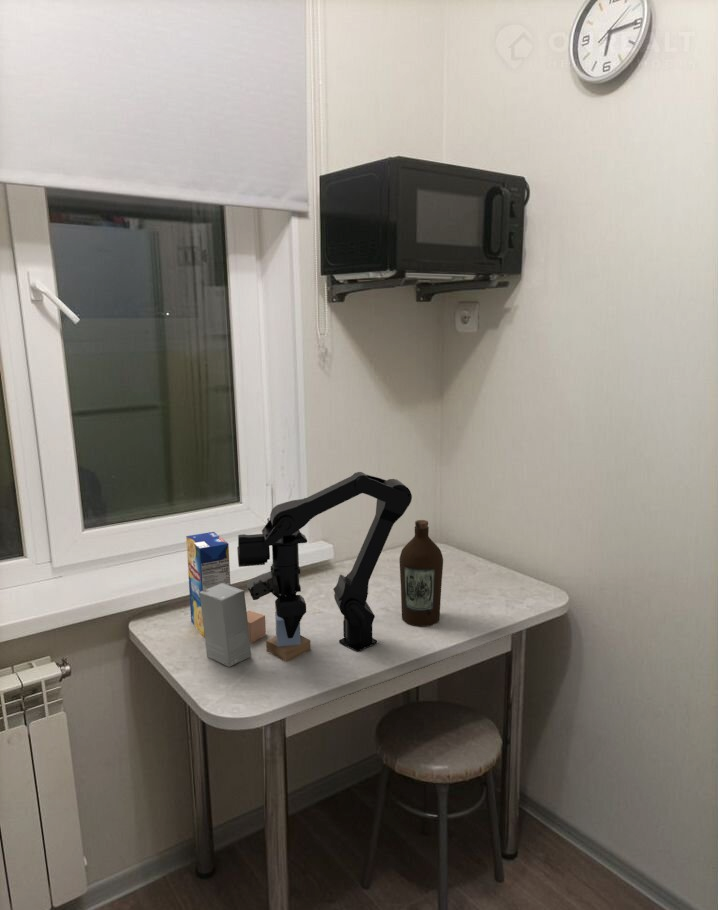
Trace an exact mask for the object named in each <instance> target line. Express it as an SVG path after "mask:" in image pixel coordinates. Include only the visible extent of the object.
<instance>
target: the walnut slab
mask: <svg viewBox="0 0 718 910" xmlns="http://www.w3.org/2000/svg"><path fill="white" fill-rule="evenodd" d="M300 641H301V644H299V645H289V646H279V647H278V644H277V638H276V635H275V636H273V637H271V638H268V639H266V640H265V643H266V644H265V647H266V648H265V649H266V652H267V653H269V654H271V655H273V656H274V657H277V658H279V659H281V660H282V661H285V662H289V661H291V660H293V659H295V658H298V657H300V656H302V655H303V654H304V655H305V654H307V653H308V652H310V651H311V639H309V638H307V637H305V636H302V635H301V634H300Z"/></svg>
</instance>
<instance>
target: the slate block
mask: <svg viewBox="0 0 718 910" xmlns="http://www.w3.org/2000/svg"><path fill="white" fill-rule="evenodd" d="M274 616H275V634H276V635H275V636H276V638H277V644H278V647H279V646H289V645H299V644H301V641H300V635H301V622H300V623H299V625H298V627H297V629H296V632H295V634H294V636H293V638H288V637H287V633H286V628H285V624H284V620H283V619H282V618H281V617H278V616H277V614H276V611H275V615H274Z"/></svg>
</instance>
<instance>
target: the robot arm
mask: <svg viewBox="0 0 718 910" xmlns="http://www.w3.org/2000/svg"><path fill="white" fill-rule="evenodd" d="M361 494H364V495H367V496H369V497H372V498H374V499H376V503H375V504H376V507H375V514H374V515H375V516H374V518H373V520H372V522H371V525H370V527H369V529H368V531H367V534H366V536H365V539H364V541H363V544H362V545H361V548H360V550H359V553H358V555H357V556H356V559H355V561H354V564H353V566H352V569H351V571H350V572H349V573H348V574H347V575H345V576H344V575H342V574H339V577H338V579H337V580H338V581H337V583H336V585H335V586H334V587H333V589H332V590H333V592H334V595H333V597H334V601H335V603H336V605H337V607H338V610H339V611H340V614H341V615H343V621H342V623H343V624H342V625H343V628H342V629H343V638H340V639H339V640H338V642H339V643H340V644H341V645H343V646H345V647H347V648H349V649H351V650H353V651H355V652H360V651H362V650H364V649H367V648H368V647H371V646H374V645H375V644H378V640H377V639H375V638H373V622H374V620H375V617H376V616H375V614H374V612H373V610H372V608H371V607H370V605H369V604H368V602H367V599H368V593H369V585H370V584H369V582H370V579H371V578H372V577H371V576H372V574H373V572H374V571H375V567H376V565H377V563H378V561H379V558H380V556H381V554H382V551H383V550H384V548H385V544H386V542H387V540H388V537H389V535H390V533H391V531H392V529H393V526H394V524H395V523H396V522H397V521H398V520H399V519H401V517H402V516H403V515H404V514H405V513H406V510H407V509H408V508H409V507H410V504H411V502H412V499H413V495H412V493H411V489H410V488H409V487H408V486H407V485H405V484H404V483H402V482H401V481H400V480H398V479H395V478H388V479H387V480H386V479H384V478H380V477H377V476H373V475H369V474H366V473H364V472H362V471H357V472H354V473H353V474H352V475H351V476H349V477H346V478H344V479H342V480H340V481H338V482H336V483H335V484H332V485H330V486H328V487H326V488H324V489H322V490H320V491H318V492H315V493H313V494H312V495H310V496H307V497H304V498H300V499H293V500H289V501H286V502H281V503H279V504H277V505H275V506H274V507H273V508H272V509H271V511H270V514H269V515H270V516H269V520H268V521H267V523H266V524H265V525H264V527H263V529H262V530H261V533H257V534H245V533H244V534H238V535H237V539H238V541H237V549H236V550H237V560H238V561H237V562H238V567H239V568H241V567H251V566H252V567H253V566H255V567H256V566H265V565H266V564H267V563H268V560H271V558H272V563H271V565H270V571H268V572H264V573H262V574H259V575H257V576H254V577H253V578H250V579H248V580H247V581H246V586H247V590H248V591H249V594H250V596H251V598H252V600H253V601H257V600H259V599H260V598H262V597H264V596H266V595H269V594H270V593H271V594H272V595H273V596H274V597H276V599H275V600H274V604H275V605H274V607H275V609H274V610H275V612H276V614H277V616H278V617H281V618H282V619H283V620H284V624H285V628H286V633H287V637H288V638H293V636H294V634H295V632H296V629H297V627H298V625H299V623H300V624H301V621H302V618H303V616H304V615H305V614H306V613H307V603H306V601H305V597H303V596H302V595H301V594H297V593H300V592H302V587H301V584H300V575H301V568H300V562H299V560H300V558H299V555H300V554H299V544H307V542H308V539H307V537H306V535H305V534H303V533H302V532H301V531H300V530H301V529H302V528H304V527H305V526H306V525H307V524H308V523H309V522H310V521H311V520H312V519H313V518H315V517H317V516H318V515H320V514H322V513H325V512H326V511H328V510H330V509H332V508H335V507H336V506H338V505H340V504H342V503H344V502H347V501H348V500H351V499H353V498H355V497H357V496H360V495H361ZM270 546H271V548H270ZM270 549H272V550H271V551H270ZM271 552H272V554H271ZM271 555H272V557H271Z"/></svg>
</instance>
